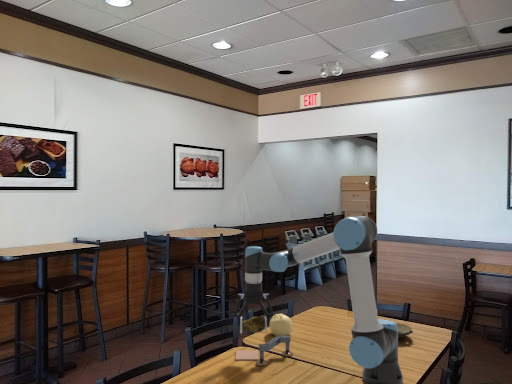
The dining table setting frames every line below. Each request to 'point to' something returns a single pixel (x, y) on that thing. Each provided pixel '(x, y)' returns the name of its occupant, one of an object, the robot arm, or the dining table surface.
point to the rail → (272, 344)
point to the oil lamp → (403, 330)
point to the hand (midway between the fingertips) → (253, 332)
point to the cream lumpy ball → (280, 325)
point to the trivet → (246, 355)
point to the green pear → (254, 324)
